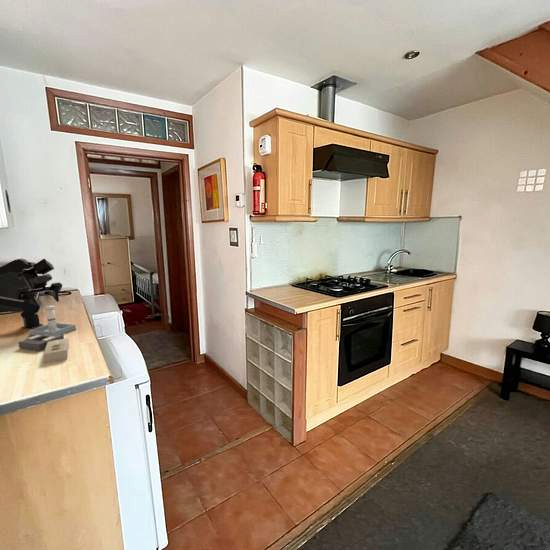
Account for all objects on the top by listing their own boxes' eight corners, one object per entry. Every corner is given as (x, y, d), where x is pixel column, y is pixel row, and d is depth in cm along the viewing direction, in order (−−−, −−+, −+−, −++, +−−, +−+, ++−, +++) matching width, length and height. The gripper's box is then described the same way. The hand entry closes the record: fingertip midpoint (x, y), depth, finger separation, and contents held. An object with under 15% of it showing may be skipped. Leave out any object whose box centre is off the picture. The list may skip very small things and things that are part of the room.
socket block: (19, 348, 125) (18, 341, 125) (45, 339, 136) (44, 332, 135) (39, 351, 122) (38, 343, 122) (64, 341, 133) (63, 334, 132)
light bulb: (46, 332, 143) (43, 307, 141) (51, 330, 147) (48, 305, 144) (54, 332, 143) (51, 307, 141) (59, 329, 147) (55, 305, 145)
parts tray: (29, 335, 141) (29, 330, 141) (54, 327, 153) (53, 322, 152) (52, 337, 138) (52, 332, 137) (75, 329, 149) (75, 324, 149)
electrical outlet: (67, 336, 129) (66, 349, 114) (69, 344, 130) (67, 359, 115) (47, 339, 125) (43, 354, 110) (48, 348, 126) (44, 364, 111)
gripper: (14, 271, 138) (30, 297, 135) (58, 267, 155) (73, 289, 152) (8, 287, 143) (23, 311, 140) (51, 280, 159) (66, 302, 156)
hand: (48, 303), depth 147 cm, fingers open, 9 cm apart
